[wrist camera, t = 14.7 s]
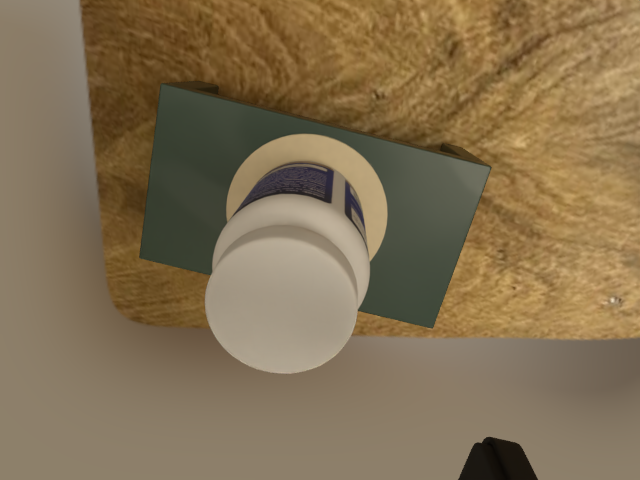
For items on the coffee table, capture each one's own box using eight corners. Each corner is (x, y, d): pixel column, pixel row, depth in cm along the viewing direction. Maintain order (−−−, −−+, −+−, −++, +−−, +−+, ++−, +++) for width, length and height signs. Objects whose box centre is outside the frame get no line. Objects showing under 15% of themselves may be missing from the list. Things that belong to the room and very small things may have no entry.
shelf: (177, 223, 31) (137, 259, 25) (198, 80, 28) (159, 82, 22) (416, 281, 32) (433, 331, 26) (462, 147, 29) (493, 167, 23)
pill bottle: (227, 232, 24) (153, 332, 15) (285, 135, 23) (242, 179, 13) (323, 289, 25) (310, 418, 16) (386, 199, 23) (414, 285, 14)
